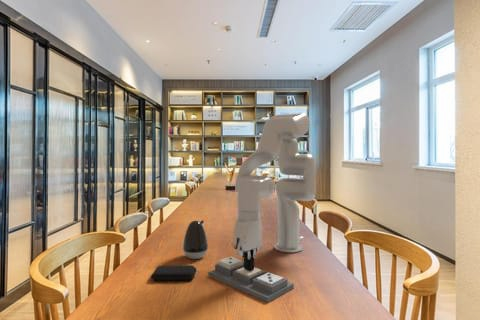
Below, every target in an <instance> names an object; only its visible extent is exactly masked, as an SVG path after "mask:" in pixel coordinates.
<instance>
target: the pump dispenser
mask: <svg viewBox="0 0 480 320" xmlns="http://www.w3.org/2000/svg"><path fill="white" fill-rule="evenodd" d="M204 223H205V221H204V220H201V221H199V220H192V221H191V222H189V224H188V226H187V227H186V230H185V234H184V237H183V242H182V243H183V244H182V250H183V252H184V255H185V256H186V258H189V259H191V260H199V259H200V260H201V259H202V258H204V257H205V255H206V254H207V252H208V249H209V242H208V238H207V234H206V231H205V228H204V225H203V224H204Z"/></svg>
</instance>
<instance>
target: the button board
mask: <svg viewBox="0 0 480 320" xmlns="http://www.w3.org/2000/svg"><path fill="white" fill-rule="evenodd" d="M243 267H244V262H242V265H241V266H238V267H236V268H233V269H227V268H225V267H222V266H220V265H219V262H218V263H216V264H215V265H214V268H213V269H212V270H209V271H208V277H210V278H212V279H214V280H217V281H219V282H222V283H223V284H225V285H228V286H229V287H233V288H234V289H237V290H239V291H240V292H243V293H245V294H248V295H249V296H252V297H254V298H256V299H258V300H261V301H263V302H265V303H270V302H272V301H274V300H275V299H277V298H279V297H281V296H282V295H284V294H286V293H288V292H290V291H291V290H293V289H294V288H295V287H294V285H295V284H294V282H291V281H288V278H284V277H283V281H281V282H279V283H277V284H275V285H273V286H270V285H268V284H265V283H263V282H260V281H258V280H257V277H260V276H262V275H264V274H266V270H262V269H261V270H262V272H260V273H258V274H256V275H254V276H251V277H248V276H245V275H243V274H240V273H238V272H236V270H238V269H240V268H243Z"/></svg>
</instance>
